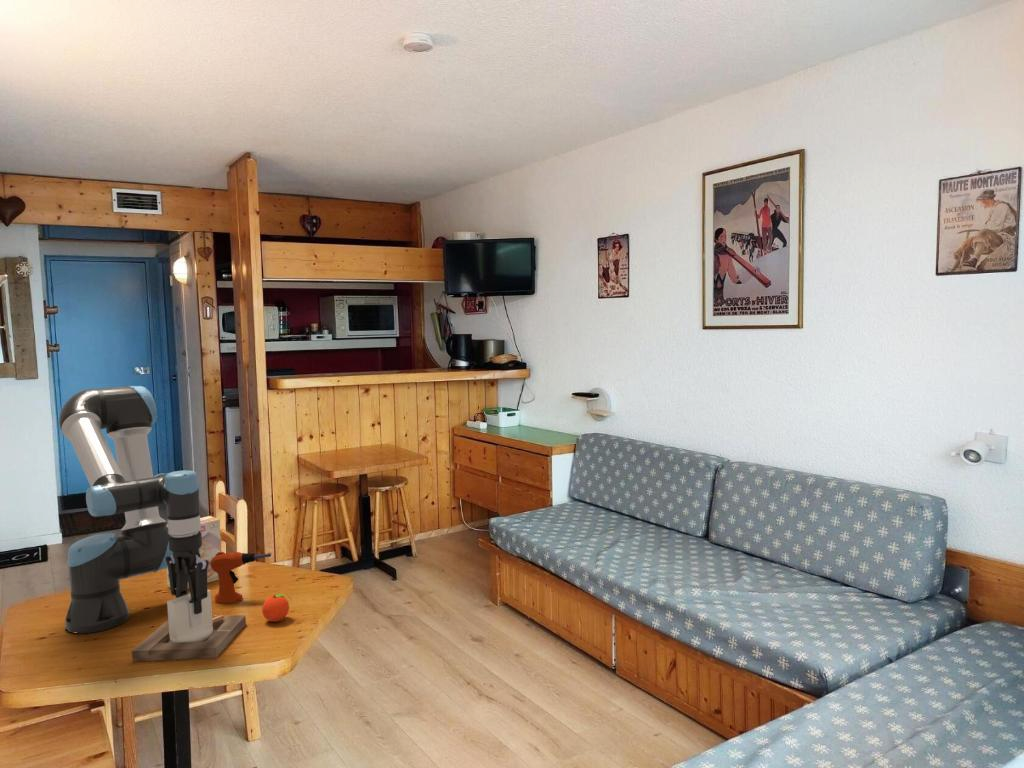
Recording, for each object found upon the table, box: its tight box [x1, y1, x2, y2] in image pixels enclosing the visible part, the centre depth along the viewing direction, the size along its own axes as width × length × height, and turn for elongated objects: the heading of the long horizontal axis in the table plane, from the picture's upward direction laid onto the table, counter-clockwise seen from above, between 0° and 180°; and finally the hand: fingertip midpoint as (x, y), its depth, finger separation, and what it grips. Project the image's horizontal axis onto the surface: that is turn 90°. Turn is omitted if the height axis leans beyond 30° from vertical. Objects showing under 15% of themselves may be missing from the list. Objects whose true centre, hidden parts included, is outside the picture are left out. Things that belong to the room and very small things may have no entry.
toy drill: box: [210, 551, 272, 604], centre depth 210 cm, size 5×19×15 cm, turn 86°
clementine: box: [261, 593, 292, 623], centre depth 195 cm, size 8×7×7 cm
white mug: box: [166, 589, 225, 643], centre depth 184 cm, size 14×10×11 cm
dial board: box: [131, 614, 247, 662], centre depth 183 cm, size 20×20×3 cm
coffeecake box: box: [165, 515, 222, 589], centre depth 227 cm, size 15×7×20 cm, turn 139°
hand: (191, 624), depth 182 cm, fingers closed on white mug, 3 cm apart
